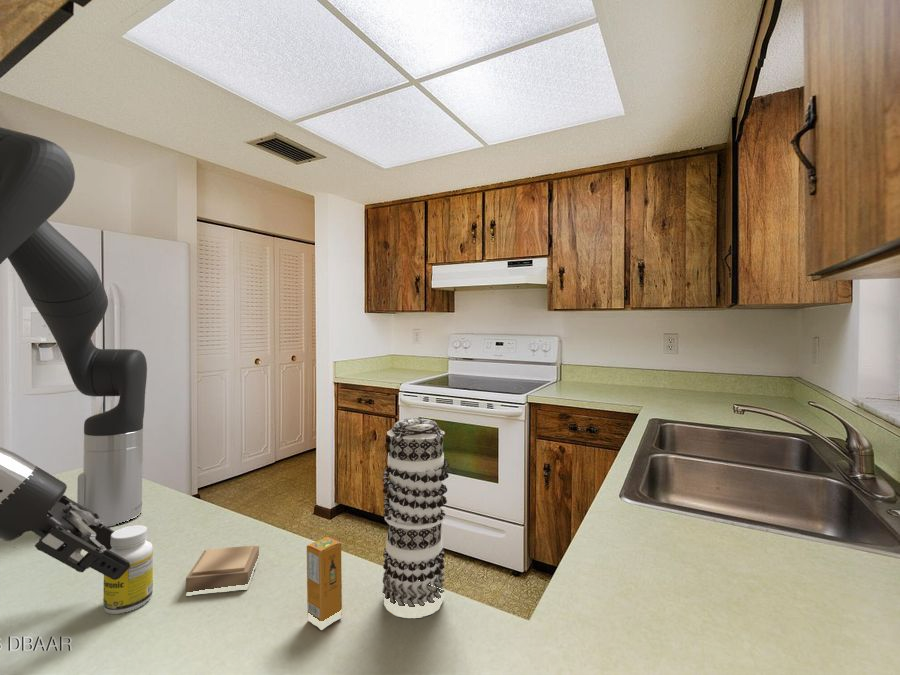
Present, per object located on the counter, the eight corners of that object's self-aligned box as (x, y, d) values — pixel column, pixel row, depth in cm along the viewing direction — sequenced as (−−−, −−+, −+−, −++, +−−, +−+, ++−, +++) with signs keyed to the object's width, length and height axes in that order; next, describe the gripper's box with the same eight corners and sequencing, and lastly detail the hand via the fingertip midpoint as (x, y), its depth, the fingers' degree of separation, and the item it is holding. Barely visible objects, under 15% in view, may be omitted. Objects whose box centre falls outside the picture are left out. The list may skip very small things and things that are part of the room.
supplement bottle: (94, 607, 58) (95, 534, 58) (139, 587, 63) (140, 519, 63) (116, 620, 56) (117, 544, 56) (160, 598, 60) (162, 527, 60)
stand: (185, 596, 61) (186, 575, 61) (204, 567, 69) (204, 547, 69) (247, 590, 63) (247, 569, 63) (258, 561, 70) (259, 543, 70)
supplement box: (326, 608, 59) (328, 534, 59) (342, 619, 57) (343, 542, 57) (304, 620, 56) (306, 543, 56) (320, 632, 54) (321, 552, 54)
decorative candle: (454, 614, 58) (458, 426, 58) (384, 626, 55) (388, 429, 55) (437, 577, 67) (440, 414, 67) (376, 586, 64) (379, 416, 64)
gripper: (27, 480, 48) (152, 553, 55) (38, 452, 59) (141, 516, 66) (-46, 543, 44) (97, 612, 52) (-21, 501, 55) (95, 562, 62)
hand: (122, 558), depth 59 cm, fingers open, 8 cm apart
